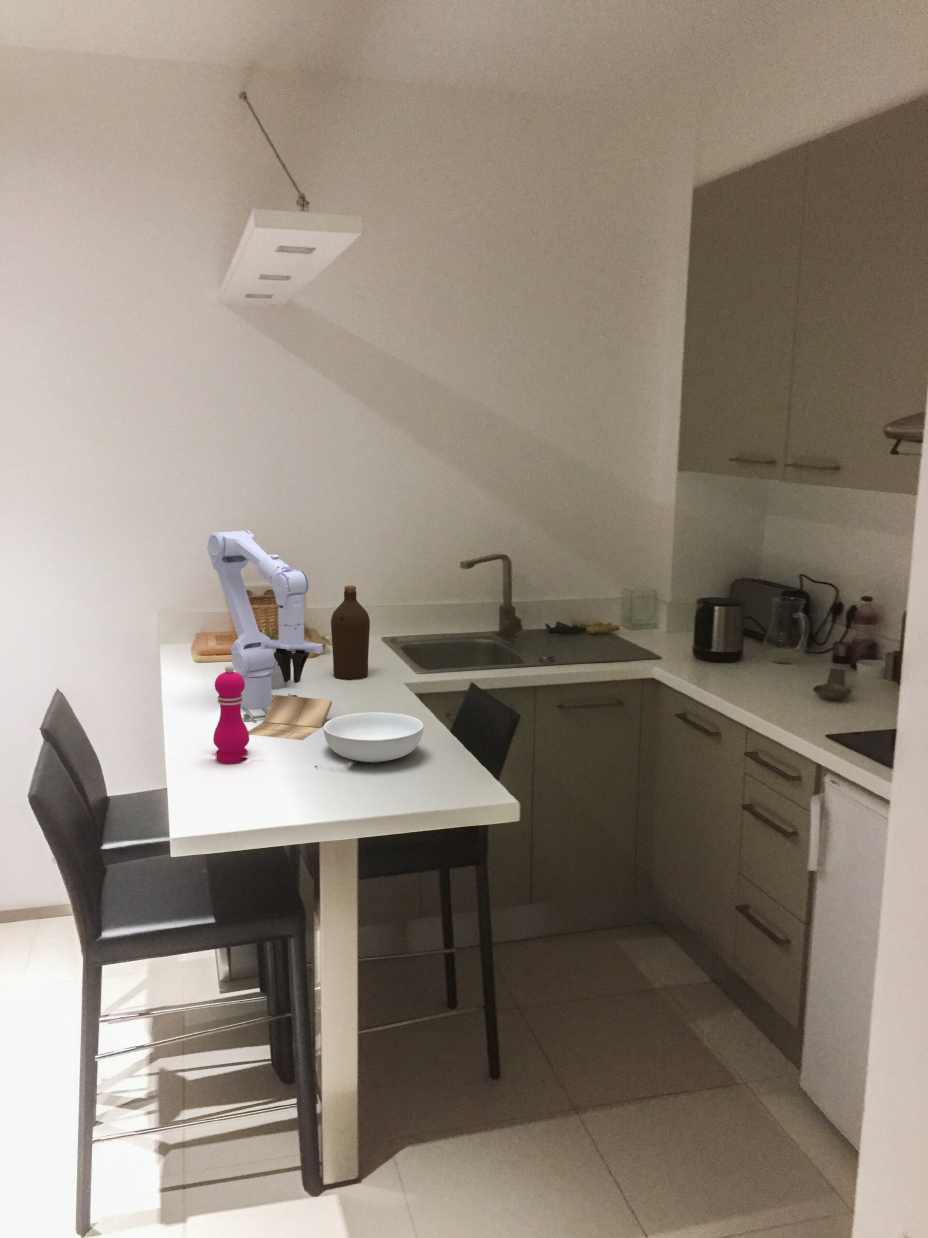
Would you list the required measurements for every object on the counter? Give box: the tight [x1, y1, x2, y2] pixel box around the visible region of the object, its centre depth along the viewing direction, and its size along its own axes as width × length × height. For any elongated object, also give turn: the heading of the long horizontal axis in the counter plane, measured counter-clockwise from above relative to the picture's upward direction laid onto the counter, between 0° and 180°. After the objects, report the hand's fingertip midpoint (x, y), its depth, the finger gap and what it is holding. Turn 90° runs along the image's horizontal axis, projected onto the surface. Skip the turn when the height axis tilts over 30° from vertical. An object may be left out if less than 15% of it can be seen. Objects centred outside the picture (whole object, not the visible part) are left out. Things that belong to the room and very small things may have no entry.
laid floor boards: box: [248, 722, 320, 741], centre depth 225 cm, size 14×9×1 cm, turn 75°
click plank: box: [262, 694, 333, 729], centre depth 232 cm, size 14×8×1 cm
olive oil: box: [330, 585, 371, 681], centre depth 278 cm, size 11×11×25 cm
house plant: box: [261, 625, 294, 690], centre depth 265 cm, size 14×14×16 cm
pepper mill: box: [212, 664, 250, 765], centre depth 207 cm, size 7×7×20 cm
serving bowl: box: [323, 711, 425, 764], centre depth 212 cm, size 21×21×7 cm
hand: (292, 681), depth 233 cm, fingers closed
